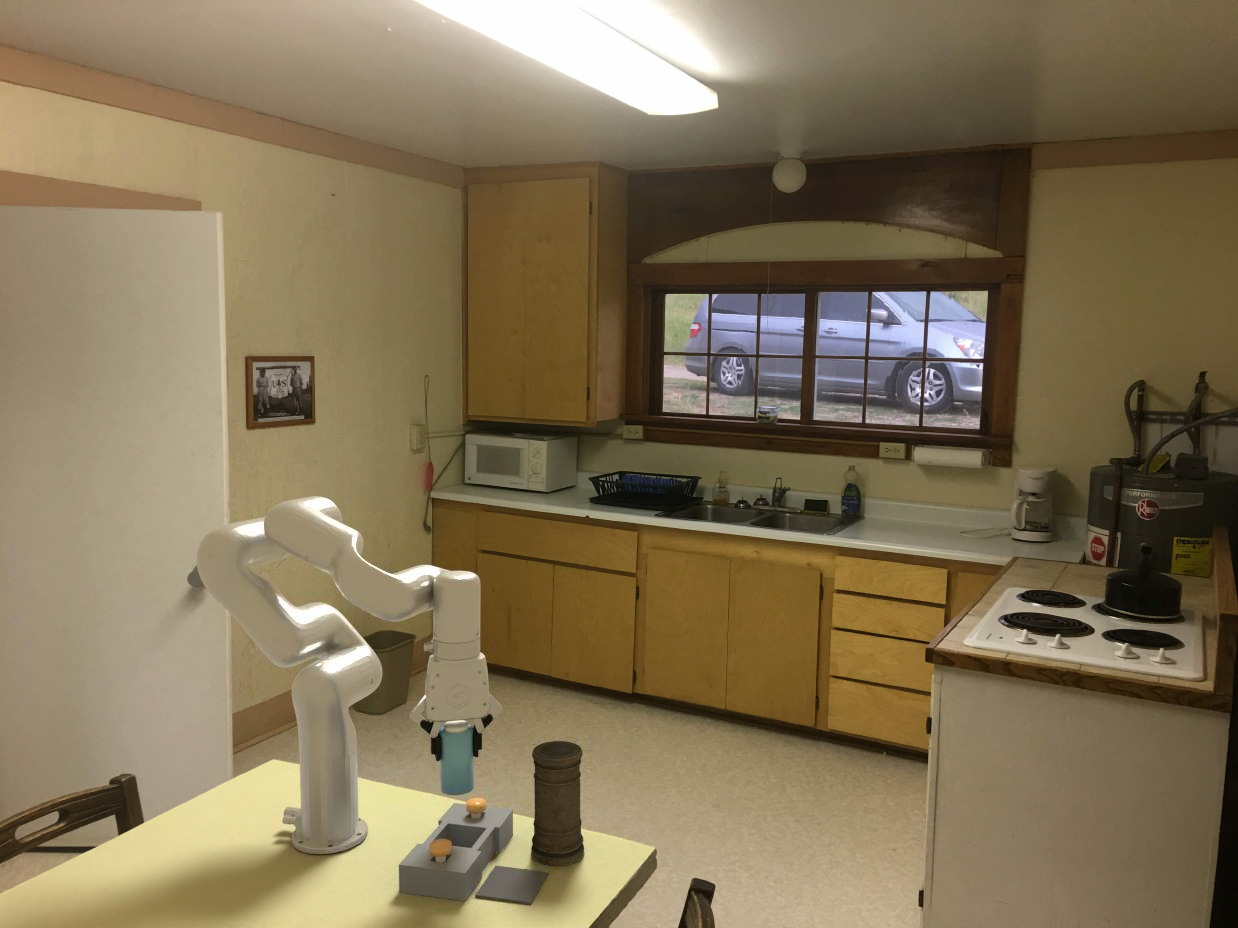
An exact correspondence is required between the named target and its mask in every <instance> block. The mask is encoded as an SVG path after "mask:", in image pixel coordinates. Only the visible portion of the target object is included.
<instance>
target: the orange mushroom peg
mask: <svg viewBox="0 0 1238 928" xmlns="http://www.w3.org/2000/svg"><path fill="white" fill-rule="evenodd" d="M465 804H466V811H467V812H469V813H471V818H475V819H481V812H483V811H485V810H486V807H487V800H486V799H484V798H482V797H474V798H473V797H472V798H469V799H468V800H466V803H465Z"/></svg>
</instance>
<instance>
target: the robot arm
mask: <svg viewBox="0 0 1238 928" xmlns="http://www.w3.org/2000/svg"><path fill="white" fill-rule="evenodd" d="M363 550H364V538H363V536H362V534H361V533H360V531H358V530H357V529H354V528H352V527H350V526H349V525H346V524H345V523H343V517H342V513H341V510H340V509H339V507H338V506H337V505H336V504H335V503H334V501H332V500H331V499H328V498H326V497H324V496H318V495H314V496H313V495H311V496H305V497H301V498H300V497H299V498H296V499H295V498H294V499H289V500H285V501H283V502H282V501H281V502H280V503H277V504H275V505H274V506H272V508H270V510H269V511H268V512H267V513H266V515H265V516H262V517H256V518H252V519H251V518H250V519H247V520H240V521H236V522H232V523H227V524H223V525H221V526H219V527H216V528H214V529H212V530H211V531H209V532H208V533H206V535H204V537H202V539H201V540H200V543H199V545H198V548H197V552H196V566H197V567H196V568H197V572H198V575H199V578H200V580H201V582H202V584H203V586H204V587H205V588H206V590H207V592H208V593H209V594H210V595H211V596H212V598H214V600H215V601H216V602H218V603H219V604H220V605H221V606H222V607H223V608H224V609H225V610H226V611H227V612H228V613H229V614H230V615H231V616H232V618H233V619H235V621H236V622H237V623H238V624H239V625H240V627H241V628H242V630H244V631H245V633H246V635H248V637H250V638H249V639H251V640H252V641H253V643H254V644H255V645H256V646H257V648H259V650H260V651H261V652H262V653H263V654H264V656H265V657H267V658H268V660H269V661H270V662H271V663H272V664H274V665H275V666H277V667H279V668H282V669H284V668H292V667H295V666H298V665H300V664H304V663H306V662H307V661H310V660H312V659H315V658H317V660H314V661H313V662H311V663H309V664H308V665H306V666H305V667H303V668H302V669H301V670H300V671H299V672H298V673H297V675H296V676H295V678H294V680H293V682H292V685H291V699H292V705H293V709H294V712H295V719H296V724H297V733H298V734H297V735H298V755H299V776H300V777H299V783H300V784H299V789H300V808H298V807H296V806H295V807H294V806H286V807H285V808H284V811H283V818H282V821H281V822H282V824H284V825H293V826H294V827H295V829H294V831H293V833H292V834H291V835H292V837H291V842H292V845H293V847H294V848H295V849H296V850H298V851H300V852H303V853H305V854H311V855H328V854H334V853H340V852H344V851H346V850H349V849H352V848H354V847H355V846H357V845H358V844H360V843H362V842H363V841H364V840H365V839H366V838H367V836H368V834H369V825H368V823H367V822H366V821H365V820H364V819H363V818H361V817H359V789H358V788H359V784H358V783H359V781H358V776H359V775H358V747H357V746H358V742H357V741H358V740H357V731H356V727H355V724H354V723H353V720H352V718H351V716H350V713H349V707H351V706H353V705H354V704H356V703H358V702H359V701H361V700H363V699H365V698H366V697H368V696H370V695H371V694H372V693H374V692H375V691H376V690H377V689H378V688H379V686H380V685H381V682H382V679H383V665H382V663H381V660H380V658H379V657H378V655H377V654H376V652H375V651H374V650H373V648H372V647H371V646H370V645H369V644H368V642H367V641H366V640H365V639H364V638H363V636H362V635H361V634H360V633H359V631H357V630H356V628H355V627H354V626H353V625H352V624H351V622H349V620H348V619H347V617H345V615H343V614H342V612H340V611H339V609H337V608H336V607H334V606H332V605H331V604H328V603H325V602H320V601H317V602H316V601H315V602H308V603H305V604H302V605H300V606H296V605H293V604H292V603H291V602H290V601H289V600H288V599H287V598H286V597H285V596H284V595H283V594H282V592H281V591H280V590H279V588H278V587H276V585H274V584H273V583H272V582H271V581H269V580H268V579H265V578H264V577H262V576H260V575H258V574H256V573H255V572H253V571H252V569H253V568H257V567H261V566H264V565H268V564H272V563H275V562H279V561H282V560H285V559H287V558H289V557H292V556H294V557H295V558H298V559H299V560H300V561H303V562H305V563H307V564H309V565H310V566H312V567H314V568H316V569H318V570H320V571H322V572H323V573H325V574H326V575H329V576H330V577H332V580H333V583H334V585H335V586H336V588H337V590H338V592H340V594H341V595H342V596H343V597H344V598H345V599H346V600H347V601H348V602H350V604H352V605H354V606H355V607H357V608H359V609H360V610H361V611H364V612H366V613H368V614H370V615H372V616H374V617H377V618H378V619H381V620H383V621H388V622H393V623H396V622H402V621H405V620H408V619H410V618H413V617H415V616H417V615H419V614H421V613H426V612H428V611H432V615H433V616H432V619H433V621H432V622H433V623H432V626H433V628H432V633H433V634H432V639H431V640H430V641H428V642H424V644H423V651H424V652H429V653H431V655H429V658H428V662H427V667H426V668H427V669H426V672H425V673H426V675H425V682H424V683H425V684H424V685H425V686H424V696H422V698H421V699H420V700H419V702H418V703H417V704H416V705H415V706H414V707H413V708H412V710H411V711H410V712H409V719H410V720H411V721H413V722H414V723H415V724H416V725H418V726H420V728H421V729H423V731H425V732H426V734H429V736H430V754H431V755H434V757H435V761H436V762H440V760H441V736H440V735H439V730H440V728H441V727H442V723H446V722H448V721H459V720H464V721H468V720H473V724H474V725H472V727H473V758H479V751H482V749H483V733H484V732H485V730H486V728H487V727H488V726H489V725H490V724H491V723H492V722H493V721H494V719H495V718H496V717H498V716H499V715H500V713H502V712H503V710H504V709H503V706H502V705H501V703H500V702H499V701H498V700H497V699H496V698H495V697H494V696H493V695H492V694H491V693H490V688H489V686H490V685H489V674H488V673H489V672H488V664H487V659H486V655H484V653H483V652H481V591H482V589H481V586H482V585H481V579H480V577H479V575H478V574H476V573H474V572H473V571H468V570H449V569H444V568H443V567H442V568H441V567H438V566H436V565H435V566H434V565H431V564H419V565H415V566H412V567H409V568H406V569H402V570H400V571H398V572H394V573H389V572H387V571H385V570H383V569H381V568H379V567H377V566H375V565H373V564H371V563H370V562H368V561H367V560H365V559H364V558H363V557H361V556H362V554H363ZM267 658H266V659H267ZM424 711H425V714H426V717H427V718H426V717H424V716H423V715H422V714H423V712H424Z"/></svg>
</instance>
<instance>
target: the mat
mask: <svg viewBox="0 0 1238 928" xmlns="http://www.w3.org/2000/svg"><path fill="white" fill-rule="evenodd" d="M548 877H549V871H544V870H543V871H541V870H534V869H526V868H519V867H512V866H511V867H510V866H504V865H503V866H502V865H494V867H493V869H492V870H491V871H490V873H489V874H488V876H487V877H486V879H485V880H484V881H483V883H482V884H481V885H480V887H479V888H478V890H477V892H475V894H474V897H475V898H478V899H484V900H485V899H487V900H494V901H501V902H508V903H516V904H521V905H522V904H523V905H529V906H531V905H532V904H533V902H534V900H535V898H536V896H537V895H538V893H539V891H540V890H541V888H542V886H543V884H544V883H545V881H546V879H547V878H548Z"/></svg>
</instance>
